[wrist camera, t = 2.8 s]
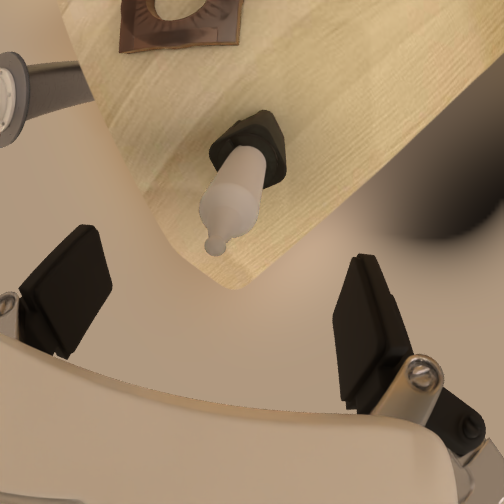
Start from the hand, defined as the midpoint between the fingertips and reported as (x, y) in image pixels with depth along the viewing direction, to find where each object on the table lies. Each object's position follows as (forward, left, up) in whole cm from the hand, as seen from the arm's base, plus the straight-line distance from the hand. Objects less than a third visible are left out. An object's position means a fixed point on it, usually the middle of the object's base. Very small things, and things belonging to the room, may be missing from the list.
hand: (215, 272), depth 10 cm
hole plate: (-10, +18, -26) cm, 33 cm away
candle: (0, 0, -26) cm, 26 cm away
